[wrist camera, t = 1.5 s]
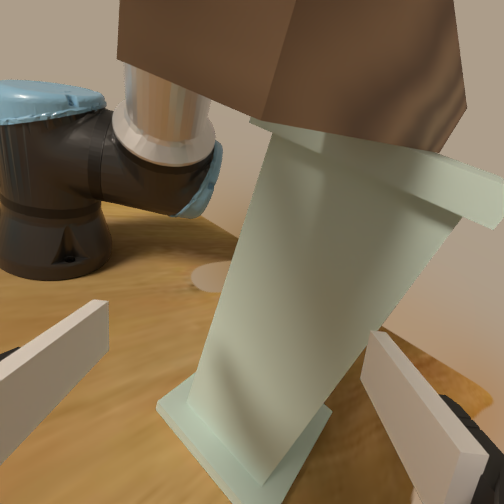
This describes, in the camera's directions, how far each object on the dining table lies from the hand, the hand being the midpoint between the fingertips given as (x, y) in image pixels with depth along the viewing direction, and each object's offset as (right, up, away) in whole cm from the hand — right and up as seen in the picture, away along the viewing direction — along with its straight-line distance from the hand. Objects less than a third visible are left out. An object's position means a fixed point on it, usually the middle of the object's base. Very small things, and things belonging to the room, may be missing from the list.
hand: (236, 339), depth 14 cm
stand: (0, -14, +17) cm, 22 cm away
